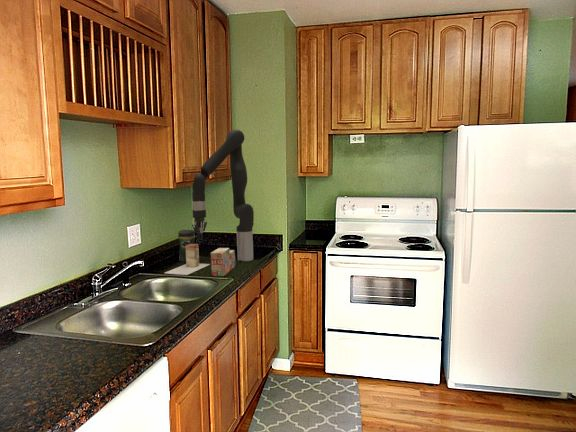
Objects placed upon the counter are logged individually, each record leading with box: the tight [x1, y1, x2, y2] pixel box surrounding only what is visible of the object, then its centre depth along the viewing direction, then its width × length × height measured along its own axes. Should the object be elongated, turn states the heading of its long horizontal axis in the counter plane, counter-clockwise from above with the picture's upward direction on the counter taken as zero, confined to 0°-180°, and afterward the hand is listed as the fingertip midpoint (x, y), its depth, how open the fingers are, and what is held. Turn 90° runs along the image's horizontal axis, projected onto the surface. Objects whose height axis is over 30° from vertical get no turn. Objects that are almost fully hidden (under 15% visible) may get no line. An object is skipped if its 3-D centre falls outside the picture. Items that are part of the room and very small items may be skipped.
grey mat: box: [164, 262, 211, 276], centre depth 234 cm, size 24×14×1 cm, turn 160°
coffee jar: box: [177, 229, 196, 262], centre depth 254 cm, size 10×8×19 cm
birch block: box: [185, 243, 200, 268], centre depth 238 cm, size 5×5×12 cm
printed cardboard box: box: [210, 247, 236, 277], centre depth 229 cm, size 21×6×12 cm, turn 170°
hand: (200, 239), depth 245 cm, fingers closed
